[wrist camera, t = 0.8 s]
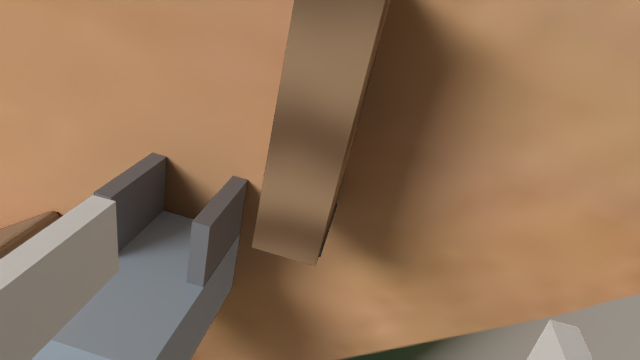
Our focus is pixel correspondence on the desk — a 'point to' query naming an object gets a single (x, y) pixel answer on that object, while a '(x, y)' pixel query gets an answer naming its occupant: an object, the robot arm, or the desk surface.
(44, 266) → the robot arm
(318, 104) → the rail
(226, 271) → the gray block with ears
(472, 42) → the desk surface
